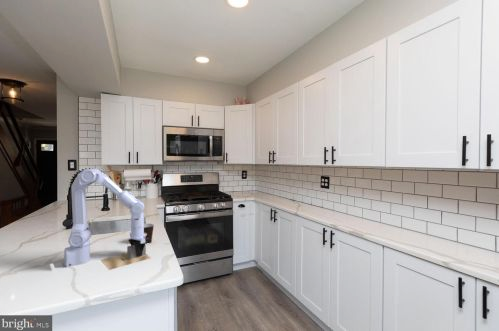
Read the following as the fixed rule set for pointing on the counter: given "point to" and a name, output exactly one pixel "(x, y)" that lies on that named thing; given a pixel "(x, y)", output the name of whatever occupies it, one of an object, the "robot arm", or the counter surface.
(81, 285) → the counter surface
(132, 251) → the sanding block
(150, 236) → the coffee mug
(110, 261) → the oak board
